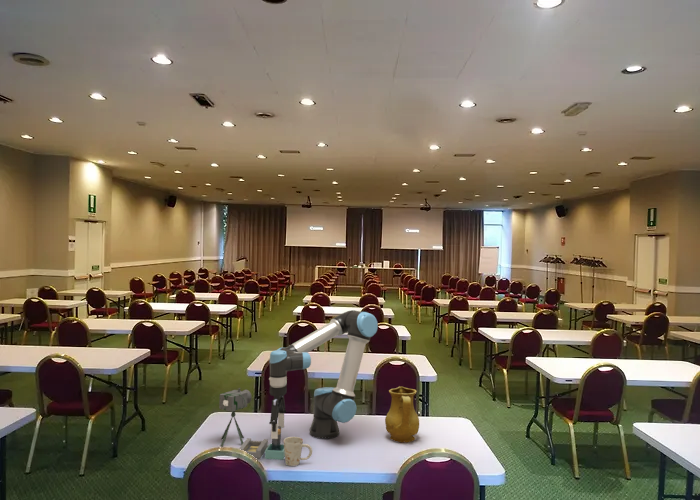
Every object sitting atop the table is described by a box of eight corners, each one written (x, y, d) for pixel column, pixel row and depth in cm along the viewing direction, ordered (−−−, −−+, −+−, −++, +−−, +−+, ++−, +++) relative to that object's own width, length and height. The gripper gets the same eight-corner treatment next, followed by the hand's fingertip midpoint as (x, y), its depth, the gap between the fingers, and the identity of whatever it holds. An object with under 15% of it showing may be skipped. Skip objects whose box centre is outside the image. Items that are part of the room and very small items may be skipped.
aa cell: (281, 452, 219) (282, 424, 219) (279, 456, 215) (280, 427, 215) (272, 452, 219) (273, 424, 220) (270, 455, 215) (271, 427, 216)
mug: (283, 459, 213) (284, 436, 213) (312, 459, 214) (312, 436, 214) (282, 467, 205) (283, 443, 205) (312, 467, 206) (312, 443, 206)
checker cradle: (267, 447, 227) (268, 439, 227) (260, 459, 213) (260, 450, 213) (246, 446, 227) (247, 438, 228) (237, 458, 213) (238, 449, 214)
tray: (287, 452, 221) (287, 444, 221) (283, 459, 213) (283, 451, 213) (269, 451, 222) (269, 443, 222) (264, 458, 213) (265, 450, 214)
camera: (233, 450, 222) (234, 395, 223) (209, 443, 230) (211, 390, 231) (256, 440, 236) (258, 388, 236) (233, 433, 244) (235, 383, 244)
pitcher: (424, 434, 247) (422, 386, 247) (413, 449, 230) (411, 396, 230) (392, 430, 255) (391, 383, 255) (379, 443, 238) (378, 393, 238)
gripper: (276, 378, 231) (275, 423, 231) (263, 393, 206) (262, 443, 206) (291, 378, 230) (291, 423, 230) (280, 393, 206) (280, 443, 205)
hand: (277, 432), depth 218 cm, fingers open, 13 cm apart
